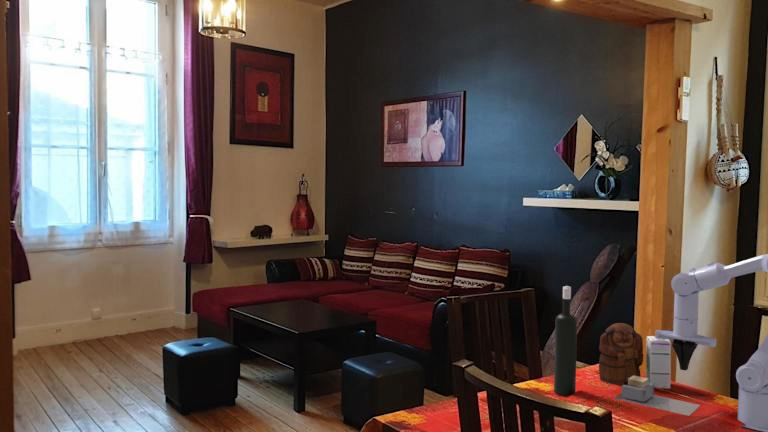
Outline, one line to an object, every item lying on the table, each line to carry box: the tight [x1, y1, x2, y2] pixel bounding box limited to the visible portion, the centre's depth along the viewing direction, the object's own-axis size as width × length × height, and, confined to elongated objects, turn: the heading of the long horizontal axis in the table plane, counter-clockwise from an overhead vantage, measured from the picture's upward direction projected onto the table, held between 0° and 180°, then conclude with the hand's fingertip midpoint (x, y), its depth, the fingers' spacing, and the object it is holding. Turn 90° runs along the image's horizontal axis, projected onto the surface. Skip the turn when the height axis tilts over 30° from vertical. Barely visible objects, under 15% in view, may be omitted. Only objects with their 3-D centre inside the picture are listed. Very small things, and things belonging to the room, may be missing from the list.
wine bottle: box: [553, 285, 578, 397], centre depth 177 cm, size 6×6×30 cm
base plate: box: [613, 392, 701, 417], centre depth 168 cm, size 19×10×4 cm, turn 49°
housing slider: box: [621, 383, 655, 402], centre depth 172 cm, size 6×7×3 cm
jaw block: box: [627, 375, 649, 389], centre depth 171 cm, size 4×4×5 cm
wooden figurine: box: [598, 322, 644, 386], centre depth 185 cm, size 12×6×18 cm, turn 98°
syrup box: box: [645, 335, 672, 389], centre depth 182 cm, size 6×6×14 cm
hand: (684, 369), depth 167 cm, fingers closed
